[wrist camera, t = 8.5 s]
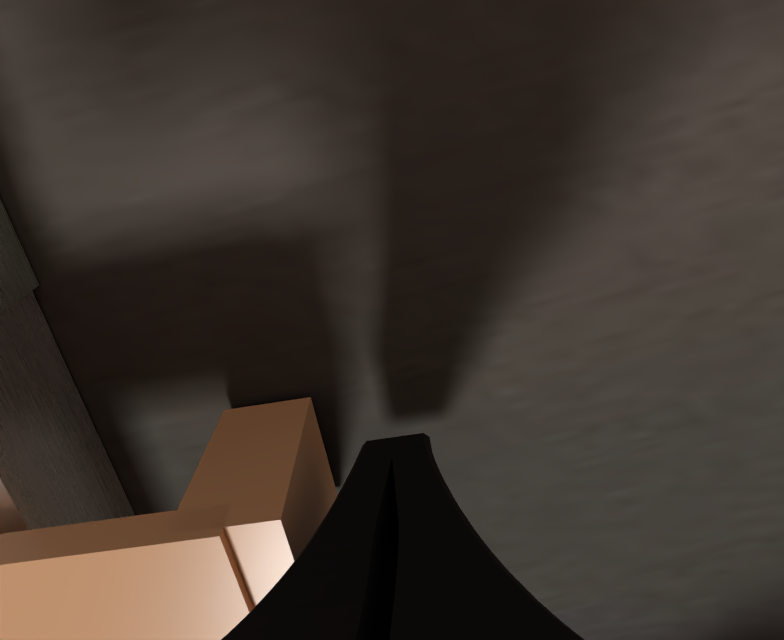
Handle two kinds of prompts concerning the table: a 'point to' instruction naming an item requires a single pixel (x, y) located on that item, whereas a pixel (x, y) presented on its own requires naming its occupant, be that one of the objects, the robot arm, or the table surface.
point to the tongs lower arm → (44, 417)
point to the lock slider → (179, 542)
